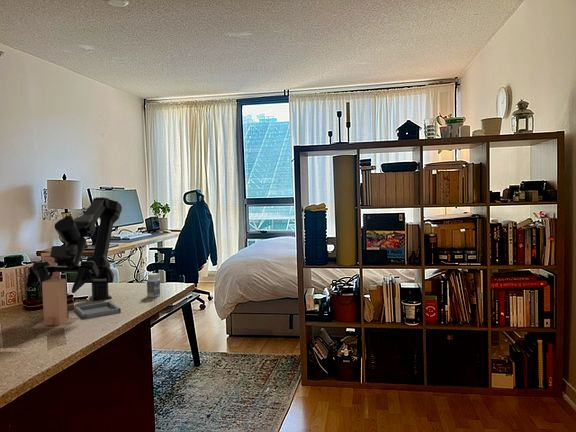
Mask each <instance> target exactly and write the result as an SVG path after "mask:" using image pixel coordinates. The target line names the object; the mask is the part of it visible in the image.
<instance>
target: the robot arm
mask: <svg viewBox="0 0 576 432" xmlns="http://www.w3.org/2000/svg"><path fill="white" fill-rule="evenodd" d="M122 207H123V206H122V205H121V203H119V201H116V200H114V199H110V198H109V197H103V196H101V197H94V198H93V199H92V202H91V204H90V205H88V208H87V209H86V210H85V212H84V213H83V214H81V216H78V217H76V218H73V216H72V215H65V216H64V218H61V219H59V220H57V221H56V222H55V224H54V229H55V230H56V233H57V234H58V236H59V239H60V240H61V241H62V242H64V243H65V245H53V246H51V250H50V254H49V257H50V258H53V259H54V260H53V262H54V264H57V265H51V264H50V263H49V261H34V262H33V264H32V266H31V268H30V269H31V270H32V271H33V272H34V274H35V276H36V277H37V278H38V279H39V283H40V285H39V287H40V288H39V289H40V294H42V295H43V291H42V282H44V281H46V280H49V279H52V277H53V274H54V273H65V274H67V273H68V274H71V273H73V274H74V273H77V275H76V278H75V280H74V283H73V284H72V287H71V293H72V294H75V293H76V292H77V291H78V290H79V289H80V288H81V287H83V286H84V285H85V284H91V295H90V296H89V299H90V300H91V301H93V302H95V301H96V302H97V301H102V300H109V299H112V296H111V295H109V294H110V293H109V284H110V283H113V282H114V279H115V278H114V277H115V275H114V272H113V271H112V269H111V264H110V262H109V260H108V255H109V254H108V253H109V249H110V243H111V238H112V234H113V227H114V224H115V223H116V222H117V221H118V220H119V219H120V216H121V214H122V212H123V209H122ZM98 220H99V224H98V225H99V226H98V231H97V236H96V241H95V245H94V250H93V254H92V255H91V256H88V257H87V258H86V260H83V257H82V255H83V253H84V250H85V249H88V244H87V242H88V241H87V238H92V237H93V236H94V235H95V233H96V230H97V228H96V223H97V221H98ZM79 263H80V264H79Z"/></svg>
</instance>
